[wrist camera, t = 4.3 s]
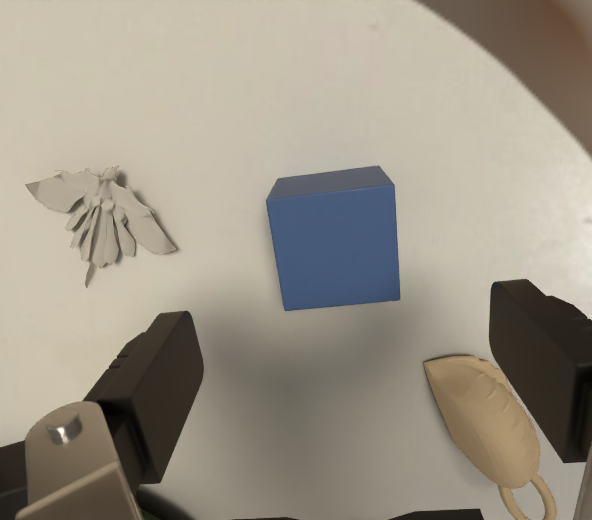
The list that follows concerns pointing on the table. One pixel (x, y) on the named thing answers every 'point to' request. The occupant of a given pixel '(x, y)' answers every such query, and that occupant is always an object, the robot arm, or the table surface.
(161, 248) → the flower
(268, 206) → the cube
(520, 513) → the decorative ornament
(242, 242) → the table surface
